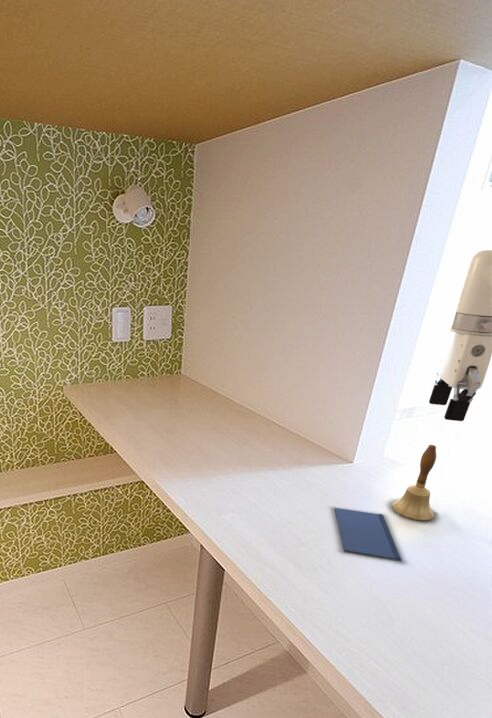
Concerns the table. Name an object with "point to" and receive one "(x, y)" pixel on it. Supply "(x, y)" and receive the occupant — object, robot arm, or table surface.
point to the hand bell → (418, 492)
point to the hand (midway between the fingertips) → (444, 411)
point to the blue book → (366, 534)
